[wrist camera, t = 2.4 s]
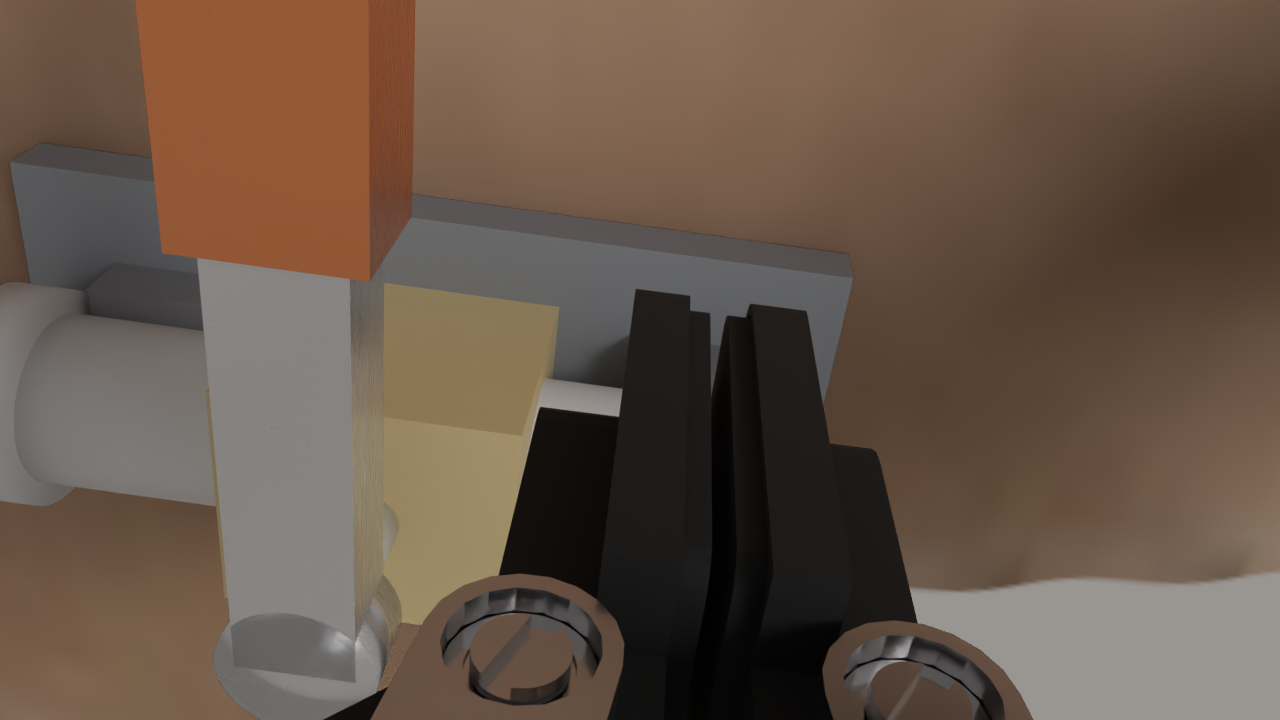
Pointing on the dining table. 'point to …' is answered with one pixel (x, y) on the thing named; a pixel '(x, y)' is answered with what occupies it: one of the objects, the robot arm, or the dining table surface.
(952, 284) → the dining table surface
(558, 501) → the robot arm
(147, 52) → the valve lever
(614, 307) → the valve base
